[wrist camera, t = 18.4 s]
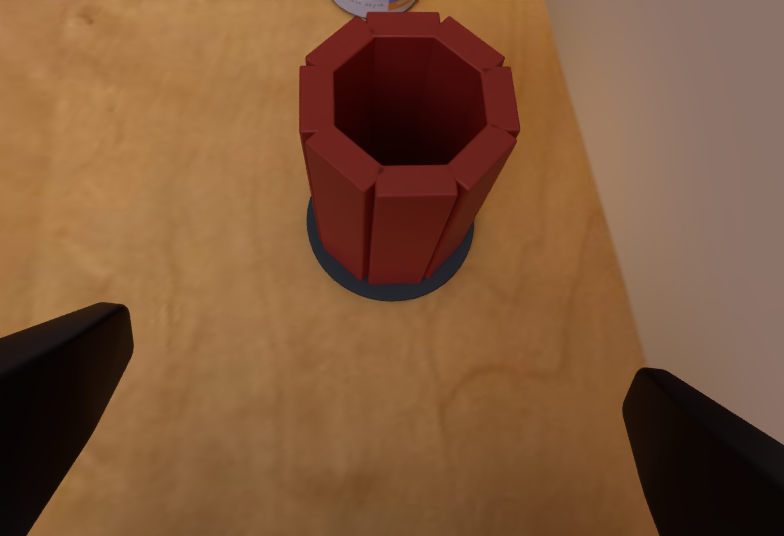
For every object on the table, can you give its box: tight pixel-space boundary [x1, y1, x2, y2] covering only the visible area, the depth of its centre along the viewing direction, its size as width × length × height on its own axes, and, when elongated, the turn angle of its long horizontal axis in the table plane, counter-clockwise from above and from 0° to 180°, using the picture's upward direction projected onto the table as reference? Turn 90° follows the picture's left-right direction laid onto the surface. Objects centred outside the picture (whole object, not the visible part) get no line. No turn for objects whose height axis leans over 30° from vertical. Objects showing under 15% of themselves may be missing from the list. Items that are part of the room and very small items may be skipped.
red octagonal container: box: [299, 12, 520, 285], centre depth 19 cm, size 6×6×8 cm
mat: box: [307, 196, 474, 301], centre depth 23 cm, size 8×8×1 cm
